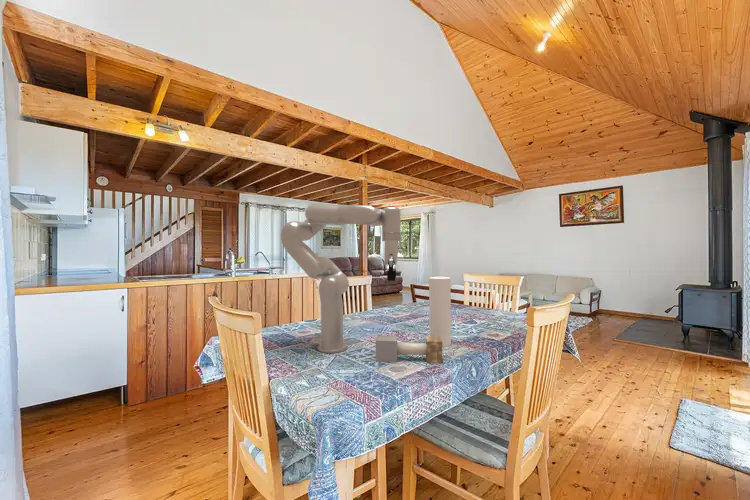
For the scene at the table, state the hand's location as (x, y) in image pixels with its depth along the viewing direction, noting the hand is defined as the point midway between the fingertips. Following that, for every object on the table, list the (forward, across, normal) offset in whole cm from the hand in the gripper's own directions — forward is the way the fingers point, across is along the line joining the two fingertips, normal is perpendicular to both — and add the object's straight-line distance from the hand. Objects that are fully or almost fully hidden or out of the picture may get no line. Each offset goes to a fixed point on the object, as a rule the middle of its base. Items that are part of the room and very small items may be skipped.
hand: (391, 279), depth 133 cm
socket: (+30, +7, +16) cm, 35 cm away
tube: (+29, +7, +8) cm, 31 cm away
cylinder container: (+31, -14, +21) cm, 40 cm away
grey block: (+30, +7, -2) cm, 31 cm away
